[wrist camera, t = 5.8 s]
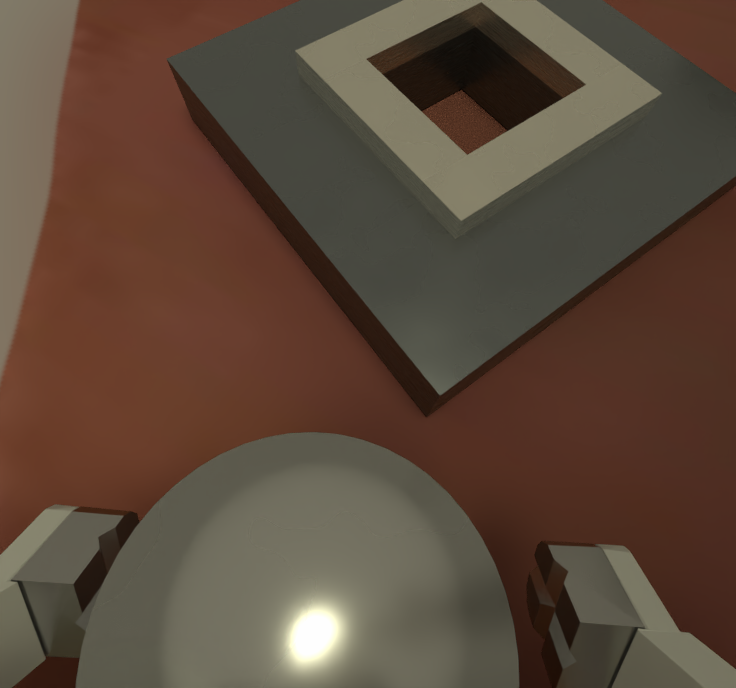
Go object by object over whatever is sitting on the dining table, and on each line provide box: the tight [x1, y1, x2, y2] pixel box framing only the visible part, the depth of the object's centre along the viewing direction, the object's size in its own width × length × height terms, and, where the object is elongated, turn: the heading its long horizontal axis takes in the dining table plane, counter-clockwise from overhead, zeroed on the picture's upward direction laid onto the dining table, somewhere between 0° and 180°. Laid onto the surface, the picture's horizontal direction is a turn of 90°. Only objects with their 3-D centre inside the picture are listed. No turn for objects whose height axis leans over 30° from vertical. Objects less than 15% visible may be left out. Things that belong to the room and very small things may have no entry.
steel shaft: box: [76, 432, 519, 688], centre depth 9 cm, size 4×4×11 cm
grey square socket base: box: [167, 0, 736, 417], centre depth 19 cm, size 18×18×4 cm
